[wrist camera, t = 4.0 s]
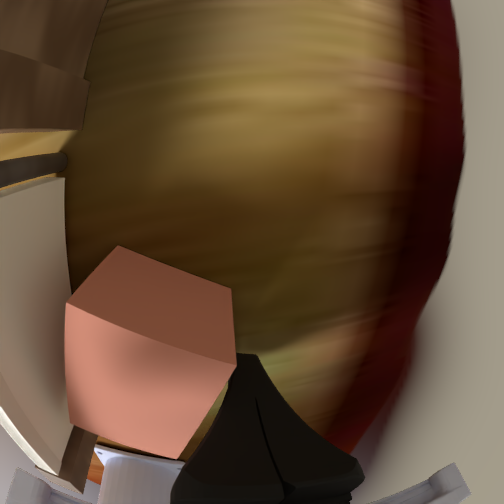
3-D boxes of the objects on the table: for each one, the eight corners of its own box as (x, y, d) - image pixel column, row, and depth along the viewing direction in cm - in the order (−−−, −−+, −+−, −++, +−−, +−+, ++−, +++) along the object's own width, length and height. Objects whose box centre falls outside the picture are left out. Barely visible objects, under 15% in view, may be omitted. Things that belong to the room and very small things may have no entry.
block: (183, 390, 13) (176, 459, 9) (97, 359, 12) (70, 422, 8) (231, 288, 11) (236, 365, 7) (117, 245, 10) (66, 302, 6)
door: (92, 380, 12) (58, 475, 6) (76, 376, 12) (38, 467, 6) (65, 177, 9) (-67, 227, 2) (45, 177, 8) (-82, 225, 2)
